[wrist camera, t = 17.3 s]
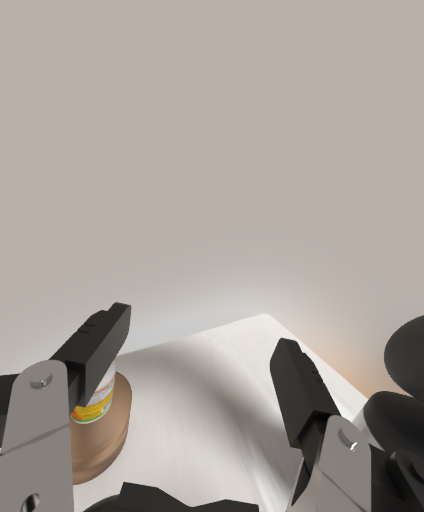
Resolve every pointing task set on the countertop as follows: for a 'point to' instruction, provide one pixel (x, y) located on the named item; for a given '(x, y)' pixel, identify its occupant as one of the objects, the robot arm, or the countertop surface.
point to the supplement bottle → (97, 400)
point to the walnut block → (101, 436)
